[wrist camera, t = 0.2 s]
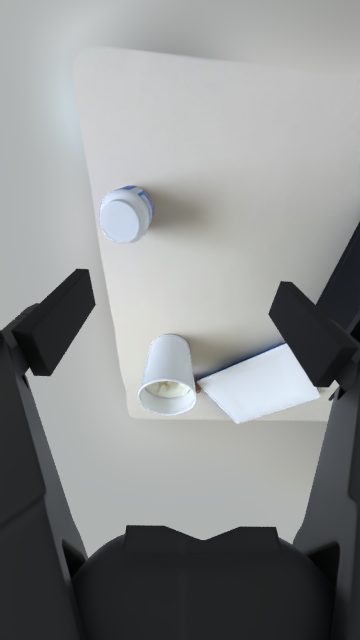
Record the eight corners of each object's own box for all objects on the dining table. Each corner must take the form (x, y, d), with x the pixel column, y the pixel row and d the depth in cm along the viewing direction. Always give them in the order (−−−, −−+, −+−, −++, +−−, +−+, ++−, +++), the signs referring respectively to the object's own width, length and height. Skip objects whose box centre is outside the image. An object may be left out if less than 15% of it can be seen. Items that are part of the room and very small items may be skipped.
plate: (235, 417, 60) (237, 425, 58) (194, 375, 49) (195, 382, 47) (316, 390, 52) (321, 398, 51) (289, 334, 42) (294, 340, 40)
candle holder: (136, 346, 43) (124, 396, 34) (173, 322, 40) (171, 371, 30) (167, 370, 48) (164, 421, 38) (202, 351, 44) (208, 402, 35)
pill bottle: (111, 220, 29) (85, 237, 21) (120, 177, 27) (95, 179, 19) (147, 236, 31) (137, 258, 23) (160, 197, 28) (153, 207, 20)
